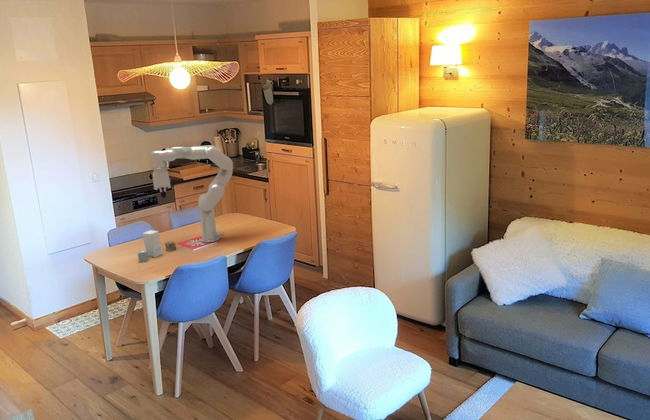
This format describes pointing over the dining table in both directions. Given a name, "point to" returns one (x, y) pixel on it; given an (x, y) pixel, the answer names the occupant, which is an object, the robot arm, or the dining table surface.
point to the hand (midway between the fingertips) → (163, 197)
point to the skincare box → (152, 243)
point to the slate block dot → (143, 256)
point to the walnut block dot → (170, 246)
